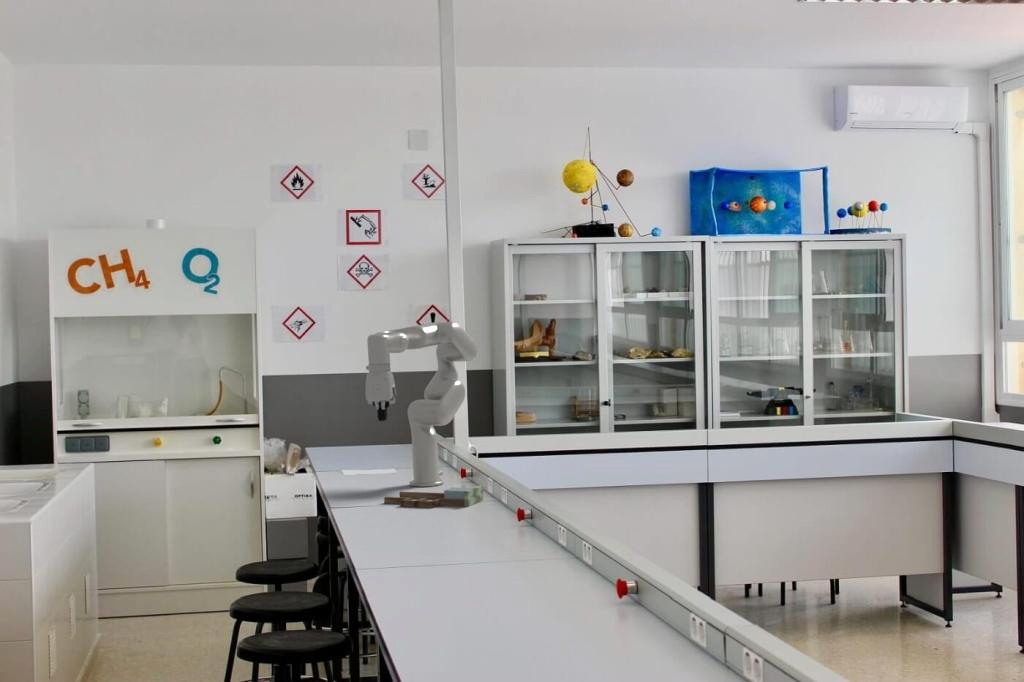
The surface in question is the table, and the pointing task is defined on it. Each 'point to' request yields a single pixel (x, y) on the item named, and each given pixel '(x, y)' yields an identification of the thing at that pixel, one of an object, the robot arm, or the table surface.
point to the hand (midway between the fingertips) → (382, 420)
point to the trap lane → (406, 500)
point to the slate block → (455, 493)
